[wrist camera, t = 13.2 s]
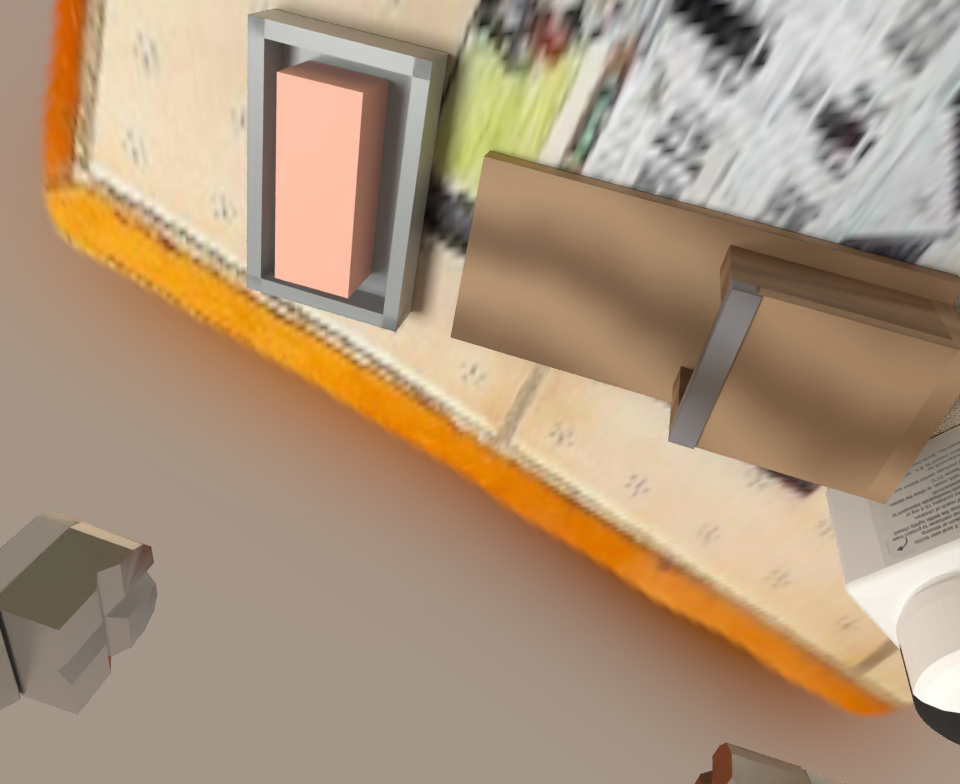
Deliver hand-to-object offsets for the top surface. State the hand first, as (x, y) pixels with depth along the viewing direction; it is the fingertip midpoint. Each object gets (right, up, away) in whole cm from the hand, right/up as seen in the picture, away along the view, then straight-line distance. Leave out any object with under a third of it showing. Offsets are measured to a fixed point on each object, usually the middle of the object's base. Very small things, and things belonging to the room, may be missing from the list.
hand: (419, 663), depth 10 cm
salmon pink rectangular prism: (-6, +15, +27) cm, 32 cm away
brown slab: (+11, +8, +27) cm, 30 cm away
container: (+25, -2, +30) cm, 39 cm away
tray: (-6, +15, +28) cm, 32 cm away
